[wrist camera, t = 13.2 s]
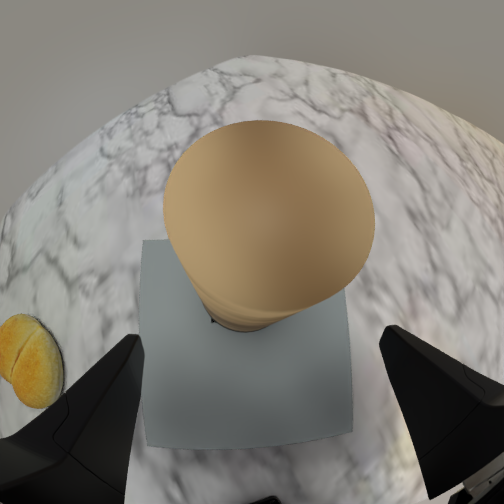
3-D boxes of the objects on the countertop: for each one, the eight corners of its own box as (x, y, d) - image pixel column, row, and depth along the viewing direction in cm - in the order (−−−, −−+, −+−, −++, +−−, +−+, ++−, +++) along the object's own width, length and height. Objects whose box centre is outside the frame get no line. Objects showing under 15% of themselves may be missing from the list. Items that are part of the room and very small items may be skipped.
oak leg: (222, 346, 20) (214, 354, 6) (190, 272, 22) (140, 152, 8) (295, 313, 22) (409, 253, 8) (261, 243, 23) (310, 107, 9)
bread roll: (49, 421, 16) (26, 428, 12) (0, 358, 17) (-23, 356, 13) (82, 363, 19) (58, 365, 15) (28, 301, 20) (4, 292, 16)
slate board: (342, 425, 19) (352, 431, 17) (153, 438, 17) (147, 446, 15) (328, 245, 24) (336, 237, 22) (149, 248, 22) (143, 240, 21)
